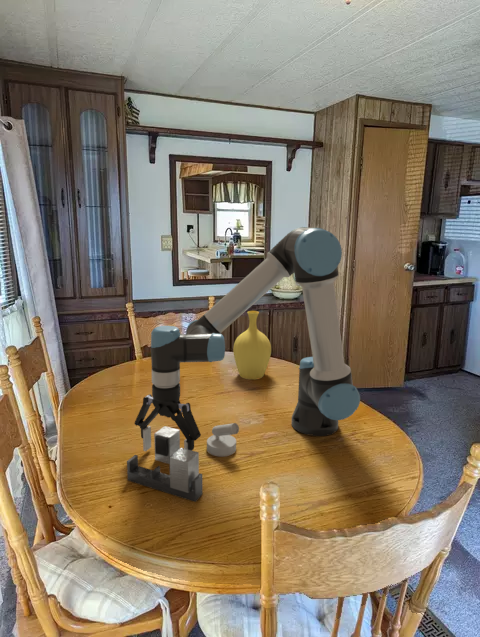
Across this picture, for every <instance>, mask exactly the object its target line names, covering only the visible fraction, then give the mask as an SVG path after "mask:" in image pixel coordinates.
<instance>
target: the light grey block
mask: <svg viewBox="0 0 480 637" xmlns="http://www.w3.org/2000/svg"><path fill="white" fill-rule="evenodd" d="M180 431H181V430H180V429H179V428H173V427H169V426H166V425H165V426H162V427H161V428H160V429H158V430H157V431H155V432H154V435H153V436H154V438H153V439H154V461H158V462H161V463H164V464H168V465H169V457H170V456H171V455H173V454H174V453H175V452H176V451H177V450H179V449H180V448H181V444H180V443H181V440H180V439H181V438H180V436H181V435H180V434H181V433H180Z"/></svg>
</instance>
